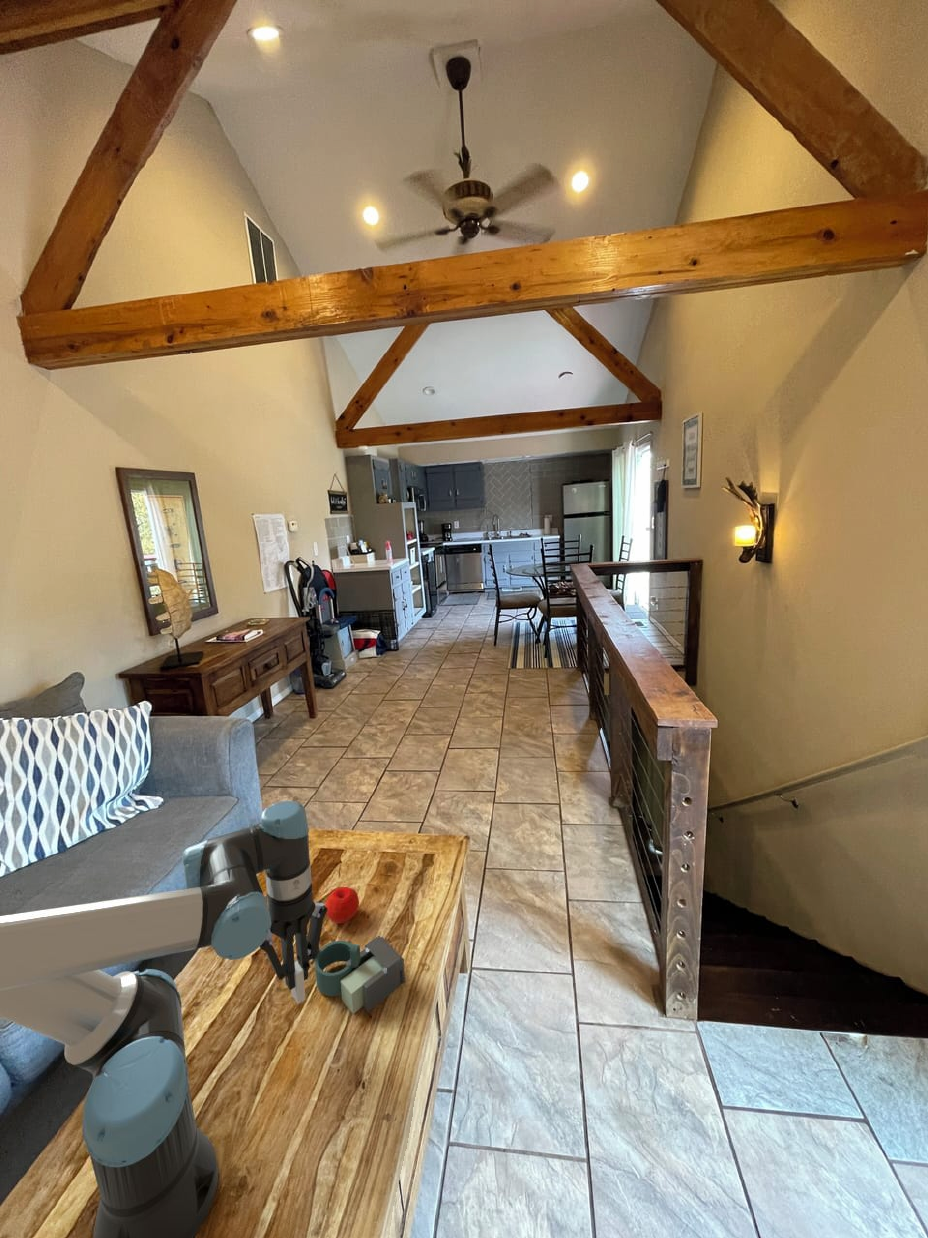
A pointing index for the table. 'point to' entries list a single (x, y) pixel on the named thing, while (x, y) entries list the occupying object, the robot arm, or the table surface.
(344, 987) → the block
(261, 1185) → the table surface
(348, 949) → the bracket
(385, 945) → the endcap
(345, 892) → the apple
